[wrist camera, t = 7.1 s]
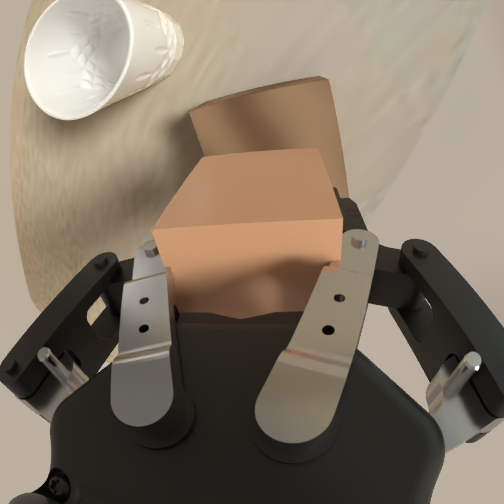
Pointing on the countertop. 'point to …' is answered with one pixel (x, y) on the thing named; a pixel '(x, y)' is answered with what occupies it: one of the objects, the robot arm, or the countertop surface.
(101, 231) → the countertop surface
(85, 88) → the white cup
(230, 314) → the terracotta block
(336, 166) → the walnut block
